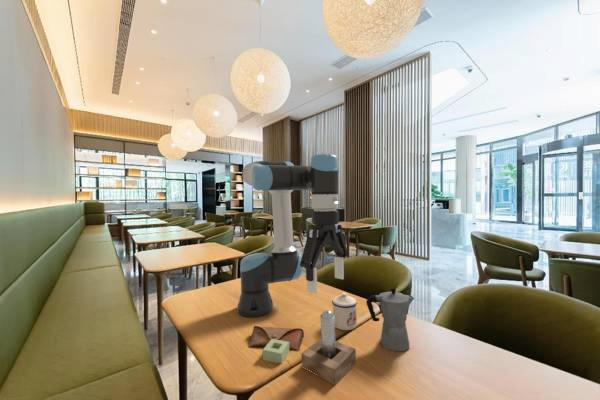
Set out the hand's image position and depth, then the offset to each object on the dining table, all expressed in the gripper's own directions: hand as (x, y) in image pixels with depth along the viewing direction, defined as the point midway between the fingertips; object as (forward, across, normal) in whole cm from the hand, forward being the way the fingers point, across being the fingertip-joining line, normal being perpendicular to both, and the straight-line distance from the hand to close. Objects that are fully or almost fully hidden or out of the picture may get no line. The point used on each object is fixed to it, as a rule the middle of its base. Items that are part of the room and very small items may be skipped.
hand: (326, 284), depth 72 cm
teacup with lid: (+23, +24, +8) cm, 34 cm away
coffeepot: (+23, +21, -10) cm, 33 cm away
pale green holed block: (+23, -6, +14) cm, 28 cm away
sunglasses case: (+24, -1, +20) cm, 31 cm away
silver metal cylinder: (+23, 0, 0) cm, 23 cm away
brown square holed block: (+23, 0, 0) cm, 23 cm away
